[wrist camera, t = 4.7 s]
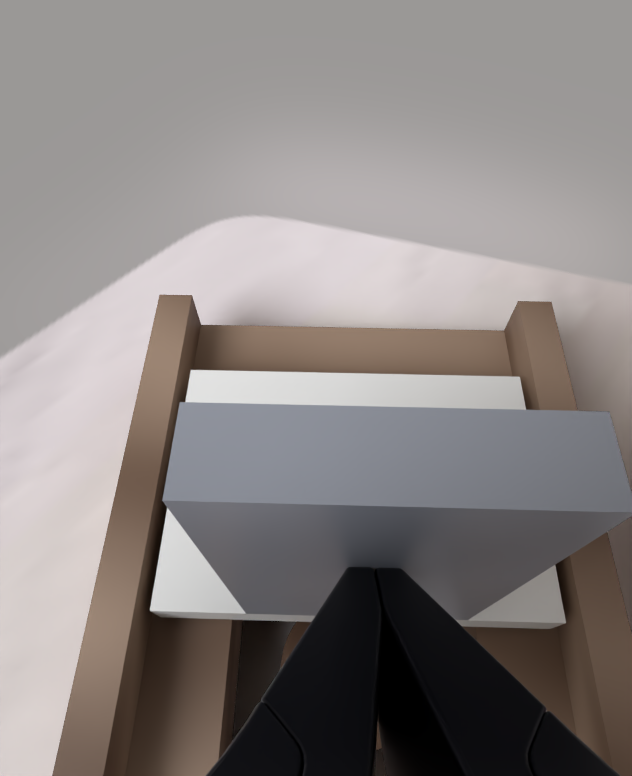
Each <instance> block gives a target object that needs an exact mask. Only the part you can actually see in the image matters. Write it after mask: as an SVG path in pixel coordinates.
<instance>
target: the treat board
mask: <svg viewBox="0 0 632 776" xmlns="http://www.w3.org/2000/svg"><path fill="white" fill-rule="evenodd" d="M191 370H222V371H270V372H318V373H366V374H414V375H462V376H510V377H520V380H521V385H522V391H523V396H524V401H525V407H526V410H561V411H578V410H577V406H576V402H575V398H574V394H573V389H572V385H571V381H570V377H569V373H568V369H567V365H566V360H565V356H564V352H563V348H562V344H561V340H560V336H559V331H558V327H557V323H556V319H555V315H554V311H553V307H552V303H551V302H529V301H518V303H517V305H516V307H515V309H514V311H513V313H512V315H511V317H510V320H509V322H508V324H507V326H506V328H505V330H504V331H491V330H439V329H387V328H335V327H283V326H231V325H201V323H200V320H199V317H198V314H197V310H196V307H195V304H194V301H193V297H192V295H160V296H159V300H158V305H157V309H156V314H155V318H154V323H153V327H152V332H151V336H150V341H149V345H148V350H147V354H146V358H145V363H144V367H143V372H142V376H141V381H140V385H139V390H138V394H137V399H136V403H135V408H134V412H133V417H132V421H131V426H130V430H129V435H128V439H127V444H126V448H125V453H124V457H123V461H122V466H121V470H120V475H119V479H118V484H117V488H116V493H115V497H114V502H113V506H112V511H111V515H110V520H109V524H108V529H107V533H106V538H105V542H104V547H103V551H102V556H101V560H100V564H99V569H98V573H97V578H96V582H95V587H94V591H93V596H92V600H91V605H90V609H89V614H88V618H87V623H86V627H85V632H84V636H83V641H82V645H81V650H80V654H79V659H78V663H77V667H76V672H75V676H74V681H73V685H72V690H71V694H70V699H69V703H68V708H67V712H66V717H65V721H64V726H63V730H62V735H61V739H60V744H59V748H58V753H57V757H56V762H55V766H54V770H53V775H52V776H205V775H206V774H207V773H208V772H209V771H210V769H211V768H212V767H213V766H214V764H215V763H216V762H217V761H218V760H219V758H220V757H221V756H222V755H223V753H224V752H225V750H226V749H227V748H228V746H229V745H230V743H231V742H232V736H233V725H234V713H235V702H236V691H237V680H238V669H239V658H240V646H241V635H242V624H243V620H231V619H198V618H164V617H159V616H157V615H156V614H154V613H152V612H151V611H150V606H151V600H152V594H153V588H154V582H155V577H156V571H157V565H158V559H159V553H160V547H161V541H162V536H163V530H164V524H165V518H166V512H167V506H166V505H165V503H164V502H163V501H162V500H163V494H164V488H165V483H166V477H167V471H168V466H169V460H170V454H171V449H172V443H173V437H174V432H175V426H176V420H177V415H178V409H179V403H180V402H185V401H186V395H187V389H188V383H189V378H190V372H191ZM555 566H556V572H557V577H558V582H559V588H560V593H561V598H562V604H563V609H564V614H565V619H566V623H565V624H562V625H560V626H557V627H554V628H552V629H532V628H499V627H465V626H462V627H463V628H464V629H465V630H466V631H467V632H468V633H470V634H471V635H472V636H473V637H474V638H475V639H476V640H477V641H478V642H479V643H480V644H481V645H482V646H483V647H484V648H485V649H486V650H487V651H488V652H489V653H490V654H491V655H492V656H493V657H495V658H496V659H497V660H498V661H499V662H500V663H501V664H502V665H503V666H504V667H505V668H506V669H507V670H508V671H509V672H510V673H511V674H512V675H513V676H514V677H515V678H516V679H517V680H519V681H520V682H521V683H522V684H523V685H524V686H525V687H526V688H527V689H528V690H529V691H530V692H531V693H532V694H533V695H534V696H535V697H536V698H537V699H538V700H539V701H540V702H541V703H543V704H544V705H545V707H546V708H547V711H551V712H552V713H553V714H554V715H555V716H556V717H557V718H558V719H560V720H561V721H562V722H563V723H564V724H565V725H566V726H567V727H568V728H569V729H570V730H571V731H572V732H573V733H574V734H575V735H576V736H577V737H579V738H580V739H581V740H582V741H583V742H584V743H585V744H586V745H587V746H588V747H589V748H591V749H592V750H593V751H594V752H595V753H596V754H597V755H598V756H599V757H600V758H602V759H603V760H604V761H605V762H606V763H607V764H608V765H609V766H610V767H611V768H613V769H614V770H615V771H616V772H617V773H619V774H620V775H621V776H632V633H631V629H630V625H629V621H628V617H627V613H626V609H625V605H624V600H623V596H622V592H621V588H620V584H619V580H618V576H617V571H616V567H615V563H614V559H613V555H612V551H611V547H610V542H609V538H608V534H607V532H606V533H604V534H603V535H601V536H600V537H598V538H596V539H595V540H593V541H592V542H590V543H589V544H587V545H585V546H584V547H582V548H581V549H579V550H578V551H576V552H574V553H573V554H571V555H570V556H568V557H566V558H565V559H563V560H562V561H560V562H559V563H557V564H555ZM310 623H311V622H298V621H297V622H296V624H295V625H294V627H293V628H292V630H291V632H290V634H289V636H288V638H287V640H286V643H285V646H284V649H283V654H282V659H281V668H282V666H283V665H284V663H285V661H286V660H287V658H288V657H289V655H290V654H291V652H292V651H293V649H294V648H295V646H296V645H297V643H298V642H299V640H300V639H301V637H302V636H303V634H304V632H305V631H306V629H307V628H308V626H309V625H310ZM381 748H382V746H381V740H380V733H379V726H378V725H377V744H376V750H378V749H381Z"/></svg>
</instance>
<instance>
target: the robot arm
mask: <svg viewBox="0 0 632 776" xmlns="http://www.w3.org/2000/svg"><path fill="white" fill-rule="evenodd" d="M377 725H378V726H379V733H380V740H381V746H382V752H383V757H384V763H385V768H386V774H387V776H621V775H620V774H619V773H617V772H616V771H615V770H614V769H613V768H611V767H610V766H609V765H608V764H607V763H606V762H605V761H604V760H603V759H602V758H600V757H599V756H598V755H597V754H596V753H595V752H594V751H593V750H592V749H591V748H589V747H588V746H587V745H586V744H585V743H584V742H583V741H582V740H581V739H580V738H579V737H577V736H576V735H575V734H574V733H573V732H572V731H571V730H570V729H569V728H568V727H567V726H566V725H565V724H564V723H563V722H562V721H561V720H560V719H558V718H557V717H556V716H555V715H554V714H553V713H552V712H551V711H547V708H546V707H545V705H544V704H543V703H541V702H540V701H539V700H538V699H537V698H536V697H535V696H534V695H533V694H532V693H531V692H530V691H529V690H528V689H527V688H526V687H525V686H524V685H523V684H522V683H521V682H520V681H519V680H517V679H516V678H515V677H514V676H513V675H512V674H511V673H510V672H509V671H508V670H507V669H506V668H505V667H504V666H503V665H502V664H501V663H500V662H499V661H498V660H497V659H496V658H495V657H493V656H492V655H491V654H490V653H489V652H488V651H487V650H486V649H485V648H484V647H483V646H482V645H481V644H480V643H479V642H478V641H477V640H476V639H475V638H474V637H473V636H472V635H471V634H470V633H468V632H467V631H466V630H465V629H464V628H463V627H462V626H461V625H460V624H459V623H458V622H457V621H456V620H455V619H454V618H453V617H452V616H451V615H450V614H449V613H448V612H447V611H446V610H444V609H443V608H442V607H441V606H440V605H439V604H438V603H437V602H436V601H435V600H434V599H433V598H432V597H431V596H430V595H429V594H428V593H427V592H426V591H425V590H424V589H423V588H422V587H420V586H419V585H418V584H417V583H416V582H415V581H414V580H413V579H412V578H411V577H410V576H409V575H408V574H407V573H406V572H405V571H404V570H402V569H401V568H377V569H376V570H375V572H374V570H373V569H372V568H371V567H348V568H347V569H346V570H345V571H344V573H343V575H342V576H341V578H340V579H339V581H338V582H337V584H336V585H335V587H334V588H333V590H332V591H331V593H330V594H329V596H328V597H327V599H326V600H325V602H324V603H323V605H322V607H321V608H320V610H319V611H318V613H317V614H316V616H315V617H314V619H313V620H312V622H311V623H310V625H309V626H308V628H307V629H306V631H305V632H304V634H303V636H302V637H301V639H300V640H299V642H298V643H297V645H296V646H295V648H294V649H293V651H292V652H291V654H290V655H289V657H288V658H287V660H286V661H285V663H284V665H283V666H282V668H281V669H280V671H279V672H278V674H277V675H276V677H275V678H274V680H273V681H272V683H271V684H270V686H269V687H268V689H267V690H266V692H265V694H264V695H263V697H262V698H261V702H259V703H258V704H257V705H256V707H255V708H254V710H253V711H252V713H251V714H250V716H249V717H248V719H247V721H246V722H245V724H244V725H243V726H242V728H241V729H240V731H239V732H238V733H237V735H236V736H235V738H234V739H233V741H232V742H231V743H230V745H229V746H228V748H227V749H226V750H225V752H224V753H223V755H222V756H221V757H220V758H219V760H218V761H217V762H216V763H215V764H214V766H213V767H212V768H211V769H210V771H209V772H208V773H207V774H206V775H205V776H375V760H376V744H377Z"/></svg>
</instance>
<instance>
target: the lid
mask: <svg viewBox="0 0 632 776" xmlns="http://www.w3.org/2000/svg"><path fill="white" fill-rule="evenodd" d="M162 501H163V502H164V503H165V505H166V506H167V512H166V518H165V524H164V530H163V536H162V541H161V547H160V553H159V559H158V565H157V571H156V577H155V582H154V588H153V594H152V600H151V606H150V611H151V612H152V613H154V614H156V615H157V616H159V617H164V618H198V619H231V620H265V621H298V622H312V620H313V619H314V617H315V616H316V614H317V613H318V611H319V610H320V608H321V607H322V605H323V603H324V602H325V600H326V599H327V597H328V596H329V594H330V593H331V591H332V590H333V588H334V587H335V585H336V584H337V582H338V581H339V579H340V578H341V576H342V575H343V573H344V571H345V570H346V569H347V568H348V567H371V568H372V569H373V570H374V572H375V570H376V569H377V568H401V569H402V570H404V571H405V572H406V573H407V574H408V575H409V576H410V577H411V578H412V579H413V580H414V581H415V582H416V583H417V584H418V585H419V586H420V587H422V588H423V589H424V590H425V591H426V592H427V593H428V594H429V595H430V596H431V597H432V598H433V599H434V600H435V601H436V602H437V603H438V604H439V605H440V606H441V607H442V608H443V609H444V610H446V611H447V612H448V613H449V614H450V615H451V616H452V617H453V618H454V619H455V620H456V621H457V622H458V623H459V624H460V625H461V626H465V627H499V628H532V629H552V628H554V627H557V626H560V625H562V624H565V623H566V619H565V614H564V609H563V604H562V598H561V593H560V588H559V582H558V577H557V572H556V566H555V564H557V563H559V562H560V561H562V560H563V559H565V558H566V557H568V556H570V555H571V554H573V553H574V552H576V551H578V550H579V549H581V548H582V547H584V546H585V545H587V544H589V543H590V542H592V541H593V540H595V539H596V538H598V537H600V536H601V535H603V534H604V533H606V532H607V531H609V530H611V529H612V528H614V527H615V526H617V525H619V524H620V523H622V522H623V521H625V520H626V519H628V518H630V517H631V516H632V492H631V489H630V485H629V481H628V478H627V474H626V470H625V467H624V463H623V459H622V456H621V452H620V449H619V445H618V441H617V438H616V434H615V430H614V427H613V423H612V419H611V416H610V412H606V411H561V410H526V407H525V401H524V396H523V391H522V385H521V380H520V377H510V376H462V375H414V374H366V373H318V372H270V371H222V370H191V372H190V378H189V383H188V389H187V395H186V401H185V402H180V403H179V409H178V415H177V420H176V426H175V432H174V437H173V443H172V449H171V454H170V460H169V466H168V471H167V477H166V483H165V488H164V494H163V500H162Z"/></svg>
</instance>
